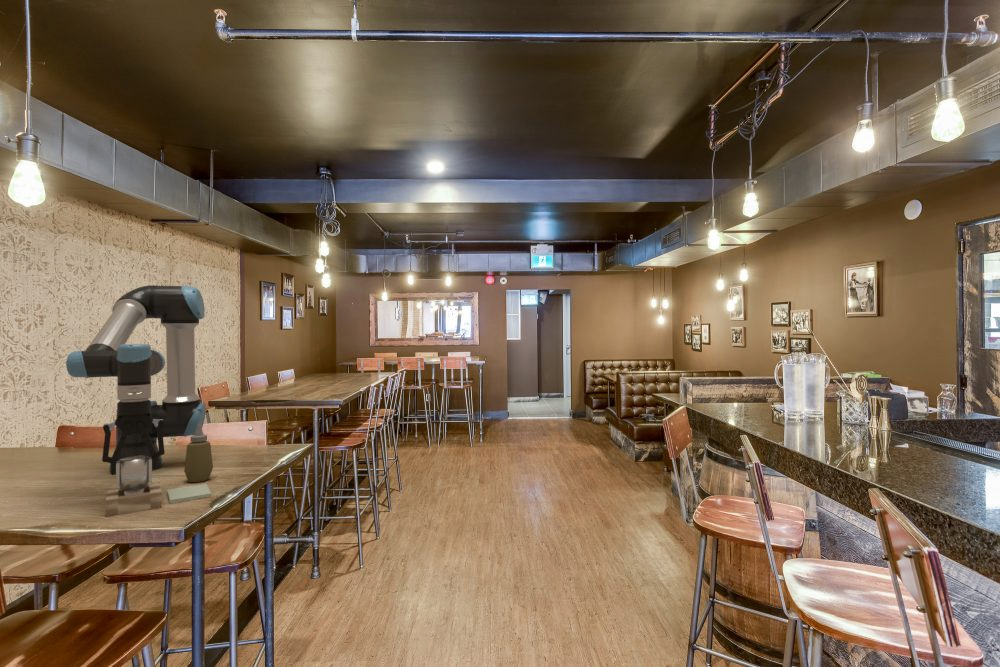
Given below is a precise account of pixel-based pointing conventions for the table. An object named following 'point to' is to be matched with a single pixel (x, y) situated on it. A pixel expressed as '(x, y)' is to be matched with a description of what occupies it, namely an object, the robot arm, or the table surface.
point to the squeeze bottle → (198, 457)
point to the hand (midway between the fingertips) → (134, 483)
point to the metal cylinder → (134, 474)
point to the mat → (188, 493)
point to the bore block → (133, 500)
